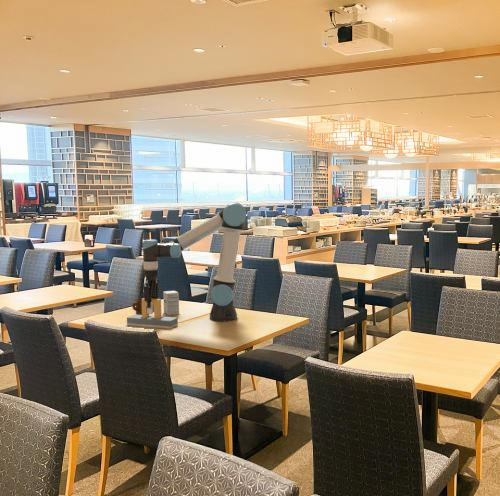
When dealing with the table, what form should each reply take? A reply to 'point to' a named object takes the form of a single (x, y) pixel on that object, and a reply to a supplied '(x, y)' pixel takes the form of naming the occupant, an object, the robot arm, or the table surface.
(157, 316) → the tall wooden block
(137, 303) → the mug
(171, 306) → the supplement box
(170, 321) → the rail
